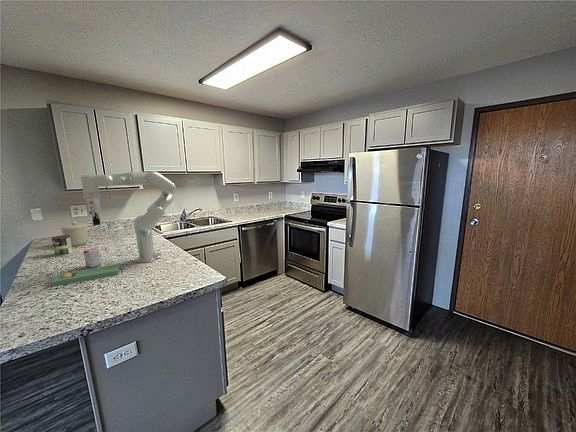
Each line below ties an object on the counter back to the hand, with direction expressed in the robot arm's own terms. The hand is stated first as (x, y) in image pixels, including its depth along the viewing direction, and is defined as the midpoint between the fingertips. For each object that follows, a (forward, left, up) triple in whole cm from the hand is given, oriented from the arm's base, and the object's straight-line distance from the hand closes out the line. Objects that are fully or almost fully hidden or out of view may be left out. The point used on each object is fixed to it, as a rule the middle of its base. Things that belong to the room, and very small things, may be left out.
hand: (97, 224), depth 147 cm
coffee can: (+33, -52, -29) cm, 68 cm away
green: (+6, +10, -29) cm, 31 cm away
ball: (+15, +11, -27) cm, 33 cm away
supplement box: (+7, -9, -29) cm, 31 cm away
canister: (+31, -80, -29) cm, 91 cm away
